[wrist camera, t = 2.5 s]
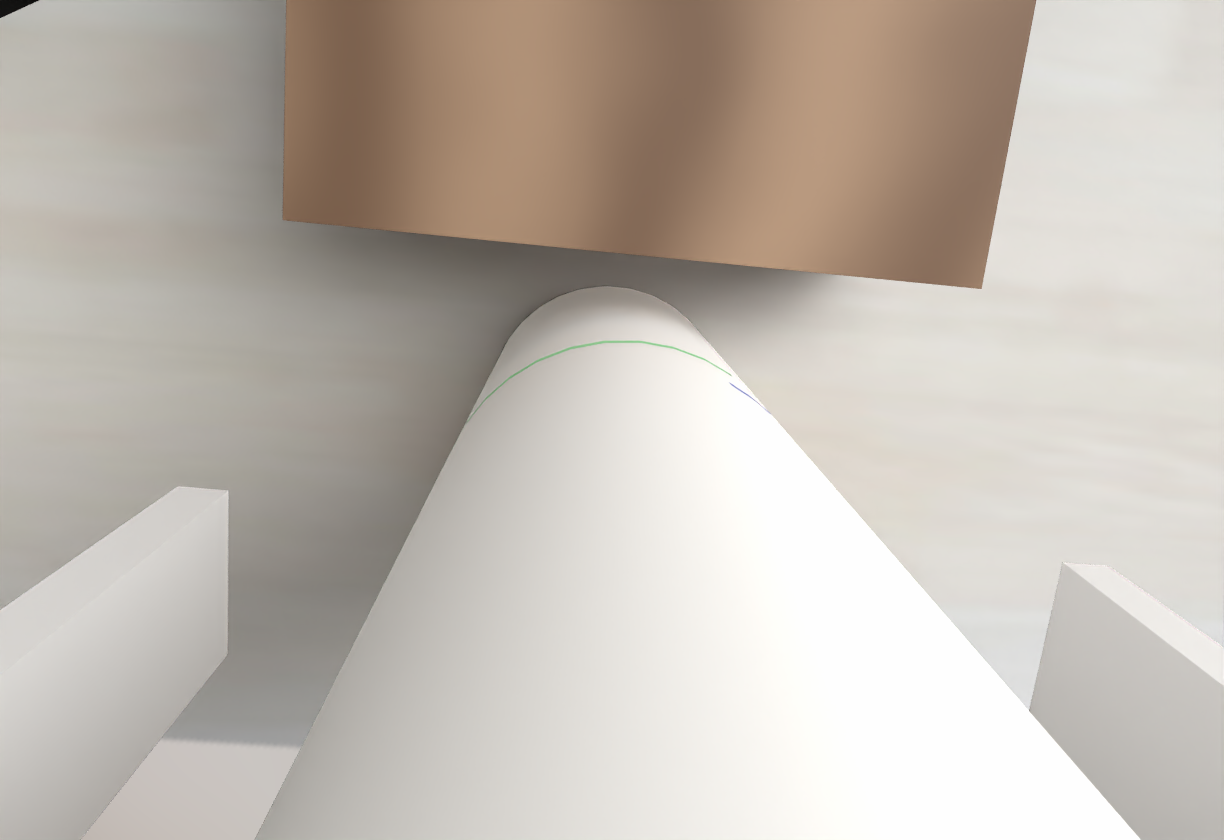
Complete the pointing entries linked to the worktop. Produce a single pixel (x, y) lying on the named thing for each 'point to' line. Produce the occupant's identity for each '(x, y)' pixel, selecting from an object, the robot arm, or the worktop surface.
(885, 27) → the brown flat-topped stand
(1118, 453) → the worktop surface
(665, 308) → the cylindrical container
